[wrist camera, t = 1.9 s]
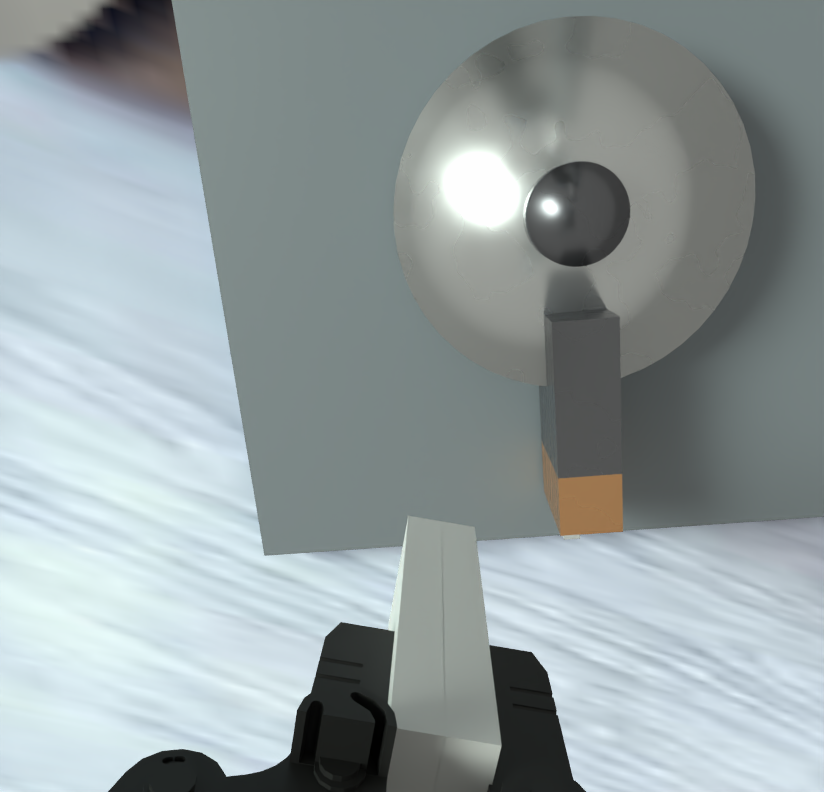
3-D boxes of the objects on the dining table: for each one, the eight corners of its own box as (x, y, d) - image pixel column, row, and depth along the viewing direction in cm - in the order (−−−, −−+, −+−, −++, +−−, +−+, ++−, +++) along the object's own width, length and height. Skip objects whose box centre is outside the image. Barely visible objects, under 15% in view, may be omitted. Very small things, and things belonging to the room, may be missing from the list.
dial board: (164, -133, 23) (141, -162, 21) (933, -233, 21) (977, -271, 19) (273, 540, 29) (263, 561, 27) (870, 497, 28) (899, 517, 26)
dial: (380, 52, 22) (370, 24, 19) (733, 13, 22) (790, -23, 18) (423, 500, 26) (422, 545, 23) (721, 478, 26) (766, 521, 22)
